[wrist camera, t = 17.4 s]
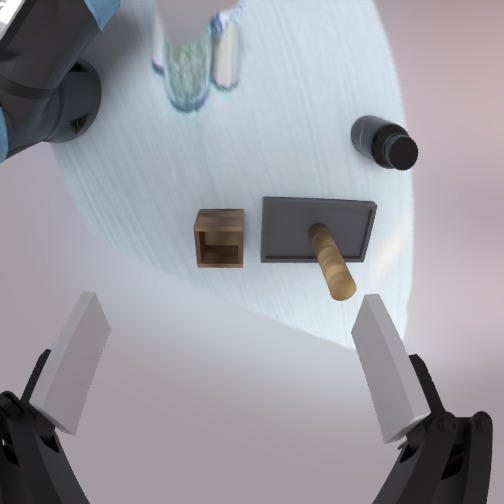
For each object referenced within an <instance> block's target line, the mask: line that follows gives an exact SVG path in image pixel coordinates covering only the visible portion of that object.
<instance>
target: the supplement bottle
mask: <svg viewBox="0 0 504 504" xmlns="http://www.w3.org/2000/svg"><path fill="white" fill-rule="evenodd" d="M351 138H352V142H353V144H354V146H355V147H356V148H357V149H358V150H359V151H360V152H361V153H363V154H364V155H365V156H367V157H368V158H370V159H371V160H372V161H374V162H375V163H376V164H378V165H379V166H381V167H383V168H386V169H397V170H401V171H402V170H408V169H410V168H411V167H412V166H413V165H414V164H415V162H416V160H417V157H418V148H417V145H416V143H415V142H414V140H412V139H411V138H410V137H409V135H408V133H407V132H406V130H405V129H404V128H402V127H401V126H399V125H397V124H395V123H392V122H390V121H387V120H384V119H382V118H379V117H376V116H370V115H368V116H364V117H361V118H360V119H358V120H357V121H356V122H355V124H354V125H353V128H352V132H351Z"/></svg>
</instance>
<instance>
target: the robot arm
mask: <svg viewBox="0 0 504 504" xmlns="http://www.w3.org/2000/svg"><path fill="white" fill-rule="evenodd" d="M119 6H120V0H0V163H2V162H3V161H4V160H5V159H7V158H9V157H11V156H13V155H15V154H16V153H19V152H21V151H22V150H24V149H26V148H28V147H30V146H32V145H35V144H37V143H39V142H41V141H43V142H53V143H61V142H66V141H69V140H71V139H73V138H76V137H77V136H79V135H81V134H82V133H83V132H84V131H85V130H86V129H87V128H88V127H89V126H90V125H91V123H92V122H93V120H94V118H95V116H96V114H97V111H98V108H99V105H100V99H101V86H100V81H99V78H98V75H97V73H96V71H95V70H94V68H93V67H92V66H91V65H90V64H89V63H87V62H86V61H84V60H81V59H78V58H79V57H80V56H81V54H82V53H83V52H84V50H85V49H86V48H87V46H88V45H89V44H90V42H91V41H92V40H93V39H94V37H95V36H96V35H97V34H98V33H99V32H102V30H103V27H104V26H105V24H106V23H107V22H108V21H109V19H110V18H111V17H112V16H113V15H114V14H115V12H116V11H117V10H118V8H119ZM110 331H111V329H110V326H109V324H108V322H107V320H106V318H105V315H104V313H103V310H102V308H101V306H100V303H99V301H98V298H97V296H96V293H95V292H83V293H82V294H81V296H80V298H79V300H78V301H77V303H76V305H75V307H74V308H73V310H72V312H71V314H70V315H69V317H68V319H67V321H66V323H65V325H64V327H63V329H62V330H61V332H60V334H59V336H58V338H57V340H56V342H55V344H54V347H53V348H52V350H49V349H46V350H45V351H44V352H43V354H41V356H40V357H39V359H38V361H37V363H36V367H35V368H34V370H33V372H32V374H31V377H30V379H29V381H28V383H27V385H26V388H25V390H24V393H23V395H22V397H21V399H20V400H19V399H18V398H17V397H16V396H15V395H14V394H13V393H12V392H10V391H5V392H2V393H1V394H0V504H90V503H89V502H88V500H87V498H86V496H85V495H84V492H83V491H82V489H81V487H80V485H79V483H78V481H77V479H76V477H75V475H74V473H73V471H72V469H71V467H70V464H69V462H68V460H67V458H66V456H65V453H64V451H63V448H62V446H61V444H60V441H59V438H58V436H57V434H56V432H55V431H54V430H55V426H56V427H57V428H58V429H59V430H61V431H62V432H65V433H68V434H70V435H73V436H75V434H76V431H77V427H78V424H79V420H80V417H81V413H82V410H83V406H84V403H85V400H86V397H87V394H88V391H89V388H90V385H91V382H92V379H93V376H94V374H95V371H96V368H97V365H98V362H99V360H100V357H101V354H102V352H103V349H104V346H105V344H106V341H107V339H108V336H109V334H110ZM351 334H352V337H353V340H354V343H355V346H356V349H357V352H358V355H359V358H360V361H361V364H362V367H363V370H364V373H365V377H366V380H367V383H368V386H369V390H370V393H371V396H372V400H373V403H374V407H375V410H376V414H377V418H378V421H379V424H380V428H381V432H382V436H383V440H384V443H385V444H386V443H390V442H394V441H397V440H400V439H401V438H402V437H404V436H405V435H406V437H407V440H406V441H405V442H404V443H402V444H401V445H400V446H399V447H398V450H400V449H401V448H402V447H403V448H402V450H401V452H400V455H399V457H398V459H397V461H396V463H395V465H394V467H393V468H392V470H391V472H390V474H389V476H388V478H387V480H386V482H385V483H384V485H383V487H382V488H381V490H380V492H379V494H378V495H377V497H376V499H375V500H374V502H373V503H372V504H486V502H487V496H488V489H489V481H490V472H491V461H492V435H493V434H492V432H493V427H492V426H493V425H492V420H491V417H490V416H489V415H488V414H487V413H486V412H483V411H479V412H477V413H476V414H474V415H473V416H472V417H455V416H454V415H453V414H451V413H450V412H446V411H445V409H444V407H443V405H442V403H441V400H440V398H439V395H438V393H437V390H436V388H435V385H434V383H433V381H432V379H431V376H430V374H429V373H428V369H427V367H426V365H425V363H424V361H423V360H422V359H421V358H420V357H419V356H418V355H417V354H414V355H409V356H408V355H407V352H406V350H405V347H404V345H403V343H402V341H401V339H400V336H399V334H398V332H397V330H396V328H395V326H394V324H393V322H392V320H391V318H390V316H389V314H388V312H387V310H386V308H385V306H384V304H383V302H382V300H381V298H380V296H379V294H369V295H365V296H364V299H363V302H362V305H361V307H360V310H359V313H358V316H357V318H356V321H355V324H354V326H353V329H352V332H351ZM2 439H3V440H4V445H3V443H2Z"/></svg>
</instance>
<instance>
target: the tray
mask: <svg viewBox="0 0 504 504" xmlns="http://www.w3.org/2000/svg"><path fill="white" fill-rule="evenodd" d="M376 210H377V205H376V204H375V203H374V202H371V201H356V200H339V199H319V198H291V197H263V213H262V237H261V263H319V261H318V259H317V256H316V254H315V251H314V248H313V246H312V243H311V241H310V238H309V236H308V230H309V228H310V227H311V226H312V225H313V224H315V223H322V224H324V225H325V226H326V227H327V229H328V231H329V233H330V235H331V237H332V238H333V240H334V242H335V244H336V246H337V248H338V250H339V252H340V254H341V256H342V258H343V260H344V262H364V258H365V255H366V251H367V247H368V243H369V239H370V235H371V231H372V227H373V223H374V218H375V214H376Z"/></svg>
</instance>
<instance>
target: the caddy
mask: <svg viewBox="0 0 504 504" xmlns="http://www.w3.org/2000/svg"><path fill="white" fill-rule="evenodd" d="M194 236H195V246H196V256H197V265H198V267H219V268H243V209H200V210H199V213H198V216H197V219H196V222H195V225H194Z"/></svg>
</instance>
